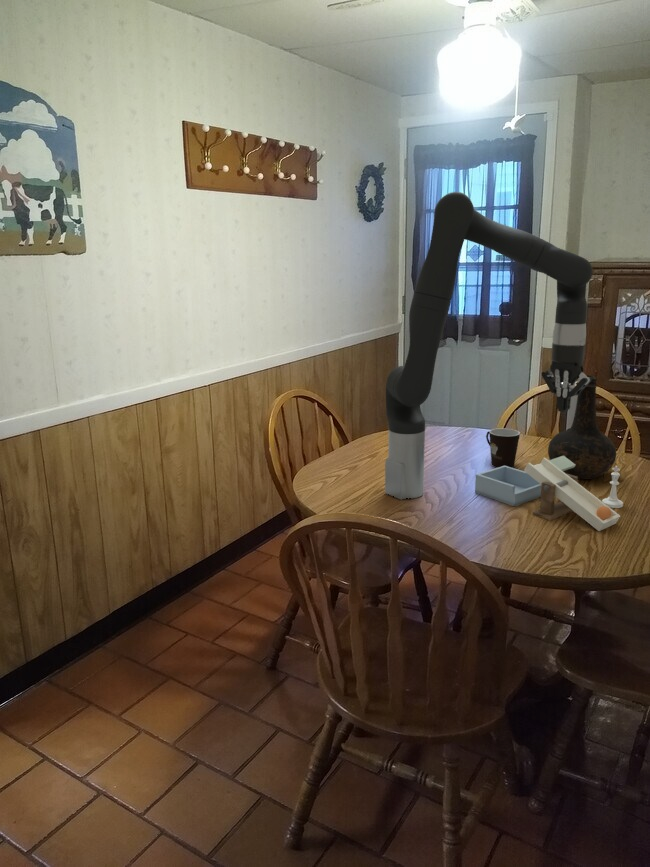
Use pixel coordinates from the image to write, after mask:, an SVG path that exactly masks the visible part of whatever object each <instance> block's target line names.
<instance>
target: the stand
mask: <svg viewBox="0 0 650 867" xmlns="http://www.w3.org/2000/svg"><path fill="white" fill-rule="evenodd" d="M567 475H568V476H570V477H571V478H572V479H573V480H575V481H576V482H577V483H579V479H578V477H577V476H574V475H570V474H567ZM555 488H556V485H555V484H551V483H548V482H542V486H541V497H540V500H539V501H540V502H539V508H538V509H536V510H534V511H532V515H534V516H537V517H540V518H543V519H545V520H548V521H553V520H555V519H558V518H560V517H562V516H565V515H567V514H569V513H572V512H574V511H573V510H572V509H571V508H569V507H568V506H567V505H566V504H564V503H563V502H562V501H561V500H560V501H557V502H555V499H556V496H555Z"/></svg>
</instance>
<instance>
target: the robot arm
mask: <svg viewBox="0 0 650 867" xmlns="http://www.w3.org/2000/svg"><path fill="white" fill-rule="evenodd" d="M465 241H469V242H473V243H474V244H477V245H480V246H482V247H485V248H487V249H490V250H492V251H494V252H496V253H497V254H500V255H501V256H504V257H506V258H507V259H510V260H511V261H514V262H516V263H517V264H520V265H522V266H524V267H526V268H528V269H531V270H532V271H534V272H538V273H542V274H544V275H546V276H548V277H550V278H552V279H554V280H555V281H556V297H557V298H556V307H555V319H554V326H553V332H552V344H551V358H550V359H551V364H550V365H549V369H547V370H545V371H542V372H541V376H542V378H543V380H544V383H545V384H546V386H547V388H548V389H549V391H550V393H552V394H554V395H556V397H557V401H556V409H557V411H558V412H561V413H567V412H568V411H569V410H570V409H571V400H572V397H574V396H575V397H576V396H578V395H579V394H580V392H581V391H582V390H583V389H584V388H585V387H586V386H587V385H588V384H589V383H590V382H591V380H592V379H591V377H587V376H586V374H585V373H584V371H585V369H584V366H583V364H584V361H585V351H586V350H585V349H586V341H587V339H586V338H587V315H588V302H587V299H586V294H587V293H586V292H587V284H588V283H589V282H590V281H591V279H592V278H593V266H592V263H591V262H590V261H589V260H588V259H587V258H584V257H582V256H581V255H578V254H575V253H573V252H571V251H567V250H565V249H562V248H560V247H558V246H556V245H554V244H552V243H550V242H548V241H547V240H545V239H544V238H541V237H538V236H536V235H535V234H532V233H530V232H527V231H525V230H521V229H519V228H515V227H512V226H509V225H506V224H502V223H500V222H497V221H495V220H493V219H490V218H489V217H487V216H485V215H483V214H482V213H480V212H479V211H477V210H476V209H475V208H474V204H473V202H472V199H470V197H469V196H468V195H466V194H465V193H463V192H461V191H452V192H448V193H447V194H444V195H443V196H442V197H441V198H440V199H439V200H438V201H437V203H436V205H435V208H434V214H433V225H432V231H431V238H430V243H429V246H428V247H429V248H428V251H427V253H426V254H427V255H426V257H425V259H424V262H423V265H422V267H421V269H420V272H419V274H418V275H419V276H418V278H417V281H416V284H415V288H414V290H413V295H412V300H411V303H410V308H409V312H408V313H409V316H408V326H409V329H408V331H409V347H408V353H407V356H406V359H405V363H404V365H399V366H396V367H395V368H393V369H392V370H391V371H390V372H389V374H388V376H387V379H386V383H385V409H386V410H385V412H386V413H385V414H386V419H387V422H388V450H387V451H388V453H387V455H388V457H387V458H385V460H384V462H385V464H384V465H385V467H384V469H385V470H384V471H385V473H384V493H385V494H386V495H388V494H389V495H388V496H391V497H393V496H394V498H396V499H398V500H406V498H408V499H409V498H411V499H416V498H420V497H421V496H423V495H424V487H425V486H424V484H425V483H424V481H425V479H424V478H425V448H426V447H425V442H426V440H425V439H426V438H425V437H426V419H425V417H424V415H423V413H422V410H421V409H422V408H421V405H422V404H424V403H425V402H426V401H427V399H428V398H429V396H430V393H431V391H432V386H433V379H434V378H433V377H434V373H435V366H436V360H437V355H438V350H439V348H440V344H441V340H442V337H443V332H444V328H445V325H446V322H447V317H448V316H449V315H448V314H449V310H450V308H451V302H452V299H453V294H454V291H455V290H454V289H455V286H456V280H457V272H458V265H459V264H458V262H459V257H460V254H461V251H462V248H463V245H464V242H465ZM576 382H579V383H578V384H577V385H576Z"/></svg>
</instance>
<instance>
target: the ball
mask: <svg viewBox="0 0 650 867" xmlns="http://www.w3.org/2000/svg"><path fill="white" fill-rule="evenodd" d="M596 514H597V516H598V517H599V518H600V519H601V520H606V519H608V518H610V517H611V515H612V513H611V510H610V509H609V508H608V507H606V506H601V507H599V508H598V509H597V512H596Z"/></svg>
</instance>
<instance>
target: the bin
mask: <svg viewBox="0 0 650 867" xmlns="http://www.w3.org/2000/svg"><path fill="white" fill-rule="evenodd" d="M541 486H542V485H541V484H540V483H539V482H537V481H536V480H535V479H534V478H532V477H531V476H530V475H529V474H527V473H526V472H525V471H524V470H521V469H517V468H514V467H512V468H511V467H508V466H501V467H498V468H497V467H494V468H492V469H489V470H485V471H482V472H479V473H476V474H475V484H474V493H475V494H478V495H481V496H484V497H485V498H489V499H491V500H492V499H493V500H494V501H498V502H501V503H504V504H507V505H509V506H512V507H517V506H520V505H523V504H525V503H527V502H531V501H533V500H535V499H538V498H541Z"/></svg>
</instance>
